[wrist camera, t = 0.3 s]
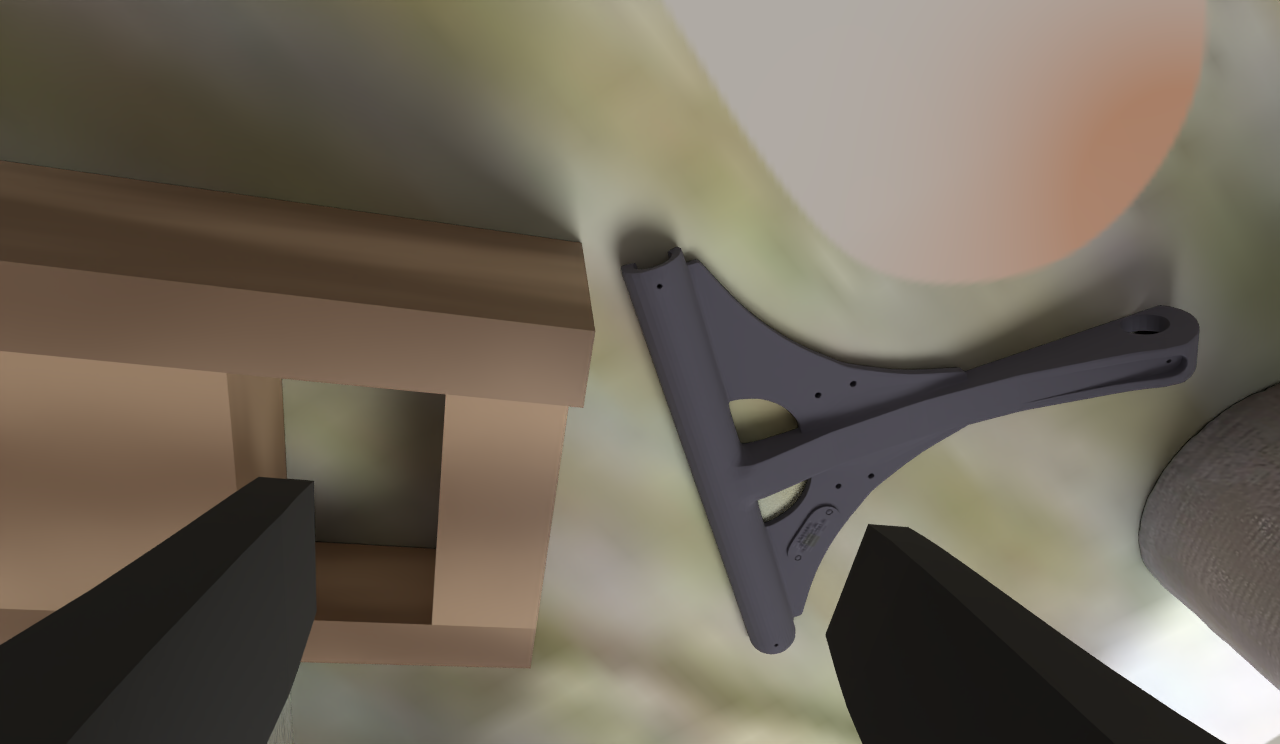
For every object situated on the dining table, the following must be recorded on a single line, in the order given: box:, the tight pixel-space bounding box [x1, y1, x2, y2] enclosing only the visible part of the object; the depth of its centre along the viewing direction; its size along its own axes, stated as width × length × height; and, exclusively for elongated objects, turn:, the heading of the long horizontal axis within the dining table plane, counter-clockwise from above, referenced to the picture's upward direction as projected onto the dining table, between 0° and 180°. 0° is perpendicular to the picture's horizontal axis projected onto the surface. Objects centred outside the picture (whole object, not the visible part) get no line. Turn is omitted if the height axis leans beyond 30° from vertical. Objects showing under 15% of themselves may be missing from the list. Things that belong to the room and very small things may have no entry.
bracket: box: [621, 247, 1199, 654], centre depth 20 cm, size 14×15×3 cm
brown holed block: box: [0, 160, 595, 668], centre depth 15 cm, size 12×20×6 cm, turn 80°
